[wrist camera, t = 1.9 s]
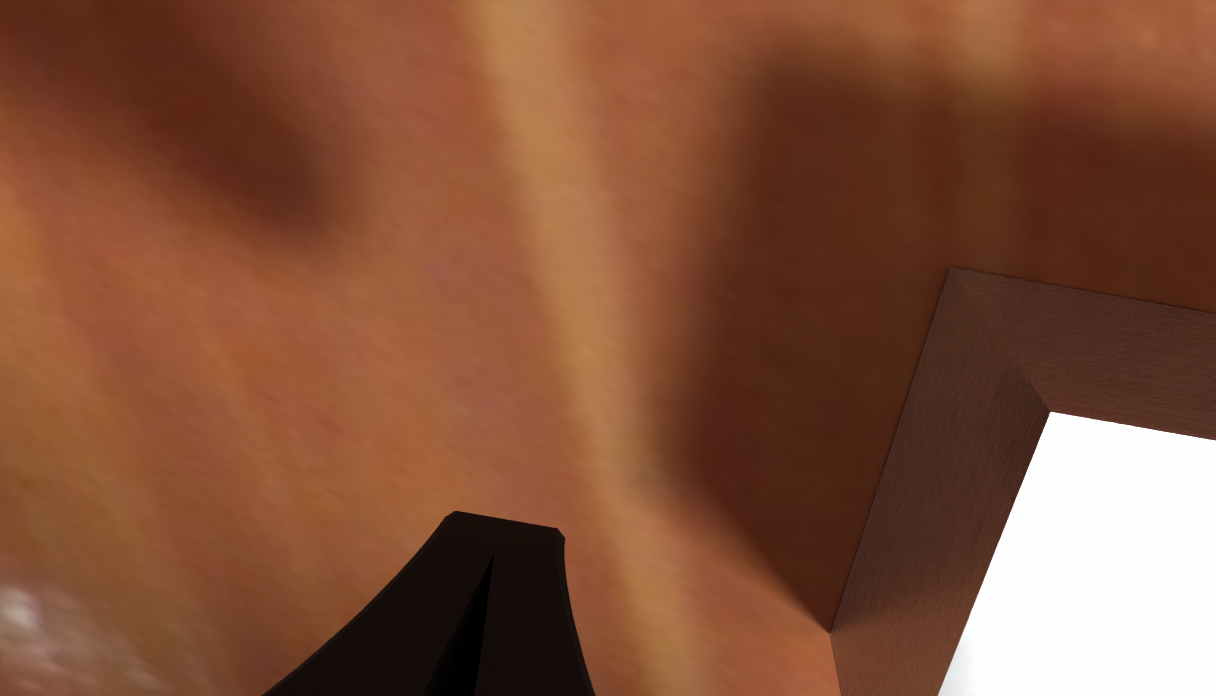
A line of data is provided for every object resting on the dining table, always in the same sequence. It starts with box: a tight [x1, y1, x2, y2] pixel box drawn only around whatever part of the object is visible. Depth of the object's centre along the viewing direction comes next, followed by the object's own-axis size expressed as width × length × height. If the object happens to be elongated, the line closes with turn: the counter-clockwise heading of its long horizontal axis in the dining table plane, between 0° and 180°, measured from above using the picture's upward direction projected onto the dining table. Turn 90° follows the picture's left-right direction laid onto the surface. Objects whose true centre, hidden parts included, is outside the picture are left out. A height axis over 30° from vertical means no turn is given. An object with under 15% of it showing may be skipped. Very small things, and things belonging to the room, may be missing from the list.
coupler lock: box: [830, 267, 1216, 696], centre depth 14 cm, size 8×7×5 cm
